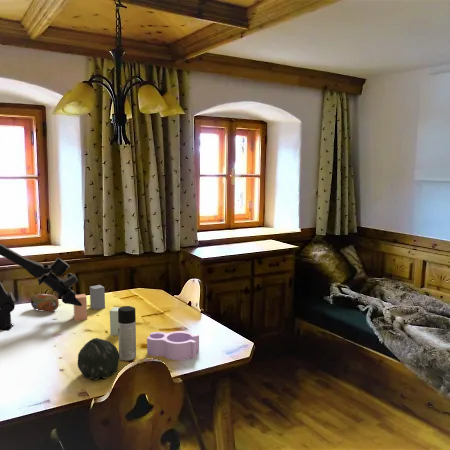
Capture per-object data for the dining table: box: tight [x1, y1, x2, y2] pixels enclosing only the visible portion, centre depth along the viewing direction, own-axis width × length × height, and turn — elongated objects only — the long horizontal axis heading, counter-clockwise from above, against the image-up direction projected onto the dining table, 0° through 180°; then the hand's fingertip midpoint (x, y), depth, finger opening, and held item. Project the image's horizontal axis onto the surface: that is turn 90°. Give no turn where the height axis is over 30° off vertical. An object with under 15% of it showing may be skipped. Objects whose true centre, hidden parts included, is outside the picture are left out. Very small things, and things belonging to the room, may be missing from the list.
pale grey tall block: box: [109, 306, 121, 336], centre depth 206 cm, size 6×6×11 cm
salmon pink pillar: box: [73, 293, 88, 322], centre depth 224 cm, size 6×6×11 cm
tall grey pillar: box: [89, 284, 106, 311], centre depth 240 cm, size 6×6×11 cm
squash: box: [77, 337, 120, 381], centre depth 167 cm, size 14×15×15 cm
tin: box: [30, 293, 60, 313], centre depth 235 cm, size 15×3×8 cm, turn 73°
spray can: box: [117, 305, 137, 362], centre depth 181 cm, size 7×7×20 cm
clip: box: [146, 330, 200, 361], centre depth 186 cm, size 20×12×7 cm, turn 82°
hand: (80, 302), depth 224 cm, fingers open, 9 cm apart
